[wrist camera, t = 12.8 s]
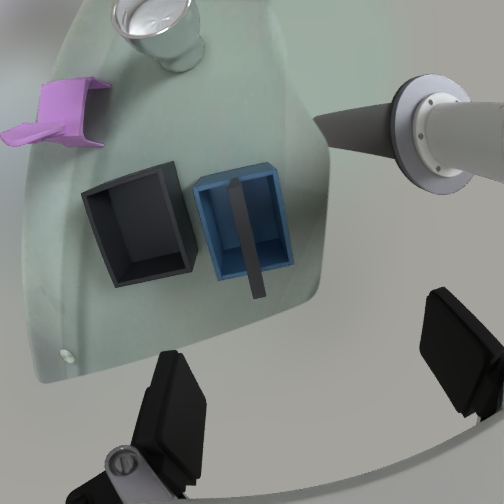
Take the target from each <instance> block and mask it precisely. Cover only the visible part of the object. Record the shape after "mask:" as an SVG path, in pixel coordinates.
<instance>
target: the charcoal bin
mask: <svg viewBox="0 0 504 504" xmlns="http://www.w3.org/2000/svg"><path fill="white" fill-rule="evenodd" d="M81 196H82V199H83V202H84V206H85V209H86V212H87V215H88V218H89V221H90V224H91V227H92V230H93V232H94V235H95V238H96V241H97V243H98V246H99V249H100V251H101V254H102V257H103V259H104V262H105V264H106V267H107V269H108V272H109V274H110V276H111V279H112V281H113V284H114V286H115V288H118V287H122V286H127V285H132V284H137V283H142V282H146V281H151V280H156V279H160V278H165V277H170V276H175V275H179V274H184V273H189V272H192V270H193V266H194V263H195V260H196V256H197V253H198V247H197V244H196V241H195V237H194V234H193V230H192V227H191V223H190V220H189V216H188V213H187V209H186V206H185V202H184V198H183V195H182V191H181V187H180V184H179V180H178V176H177V172H176V168H175V164H174V161H171V162H168V163H164V164H161V165H157V166H154V167H151V168H148V169H144V170H141V171H138V172H135V173H132V174H129V175H126V176H123V177H120V178H117V179H114V180H111V181H108V182H106V183H103V184H101V185H98V186H96V187H94V188H92V189H89V190H87V191H85V192H83V193H81Z"/></svg>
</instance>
